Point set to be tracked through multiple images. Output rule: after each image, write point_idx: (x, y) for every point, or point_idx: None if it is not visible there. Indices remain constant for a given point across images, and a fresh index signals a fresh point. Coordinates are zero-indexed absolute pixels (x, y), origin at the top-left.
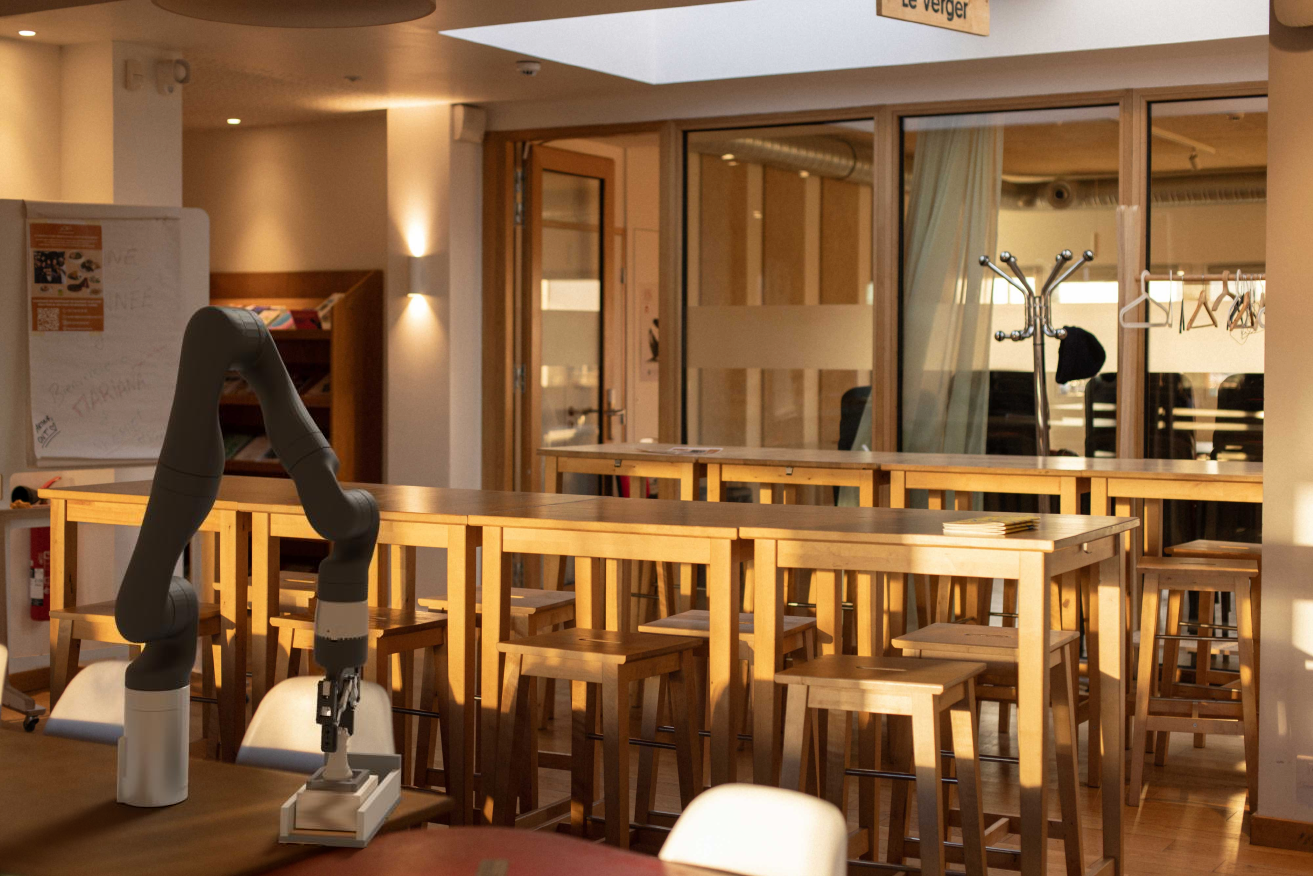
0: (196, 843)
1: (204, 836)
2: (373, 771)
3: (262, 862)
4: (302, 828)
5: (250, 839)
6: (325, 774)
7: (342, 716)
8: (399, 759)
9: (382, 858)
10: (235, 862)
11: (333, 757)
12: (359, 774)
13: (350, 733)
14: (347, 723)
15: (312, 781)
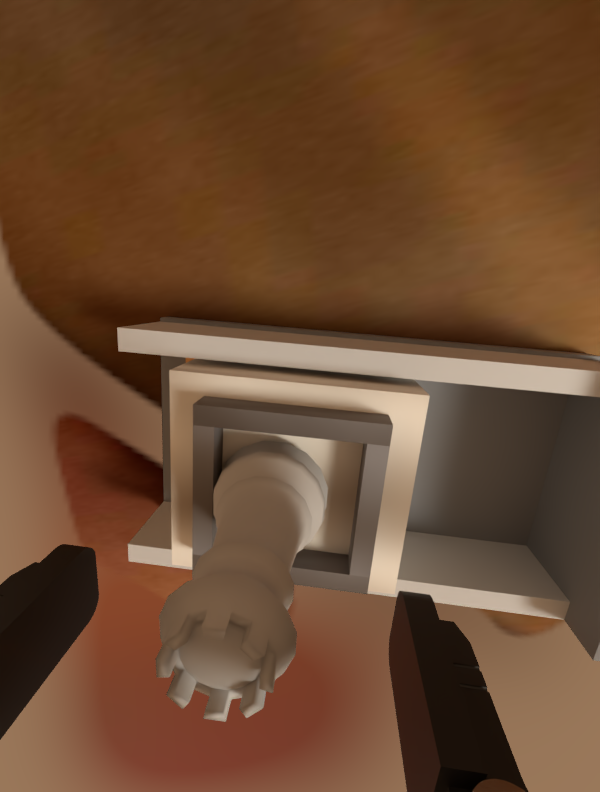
0: (130, 82)
1: (190, 84)
2: (581, 538)
3: (37, 310)
4: None
5: (186, 234)
6: (229, 474)
7: (420, 736)
8: (585, 648)
9: (117, 547)
10: (21, 244)
11: (214, 542)
12: (350, 555)
13: (392, 659)
14: (403, 708)
15: (197, 426)
